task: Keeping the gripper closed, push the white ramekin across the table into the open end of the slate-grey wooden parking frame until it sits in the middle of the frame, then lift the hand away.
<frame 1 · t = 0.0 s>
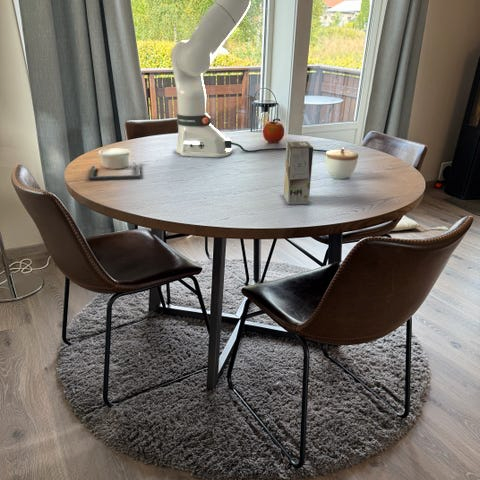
trinket box: (339, 177, 171), on the table
bay: (115, 173, 171), on the table
coffee box: (295, 200, 148), on the table
ramekin: (116, 166, 180), on the table
fruit: (272, 142, 218), on the table
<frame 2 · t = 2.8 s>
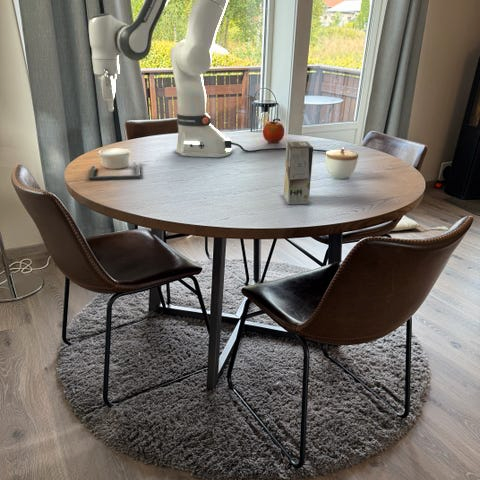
hand: (111, 110, 179), 17 cm above the table, tool pointing down, fingers closed
nothing on the table moved.
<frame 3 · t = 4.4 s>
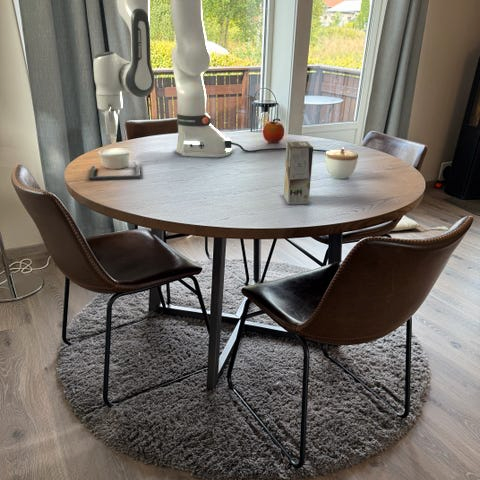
hand: (113, 143, 185), 6 cm above the table, tool pointing down, fingers closed
nothing on the table moved.
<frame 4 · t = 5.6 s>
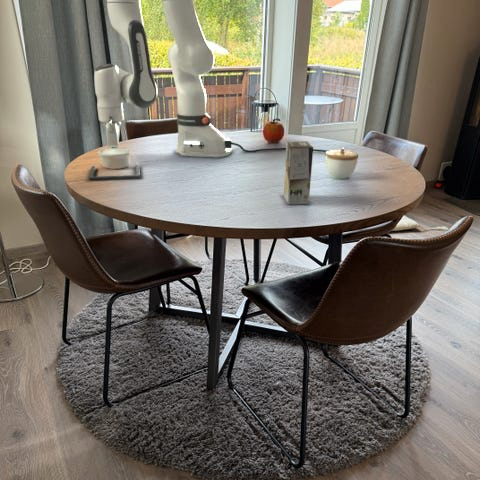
hand: (115, 154, 185), 2 cm above the table, tool pointing down, fingers closed
ramekin: (116, 166, 180), on the table, touching gripper
everything else where it was.
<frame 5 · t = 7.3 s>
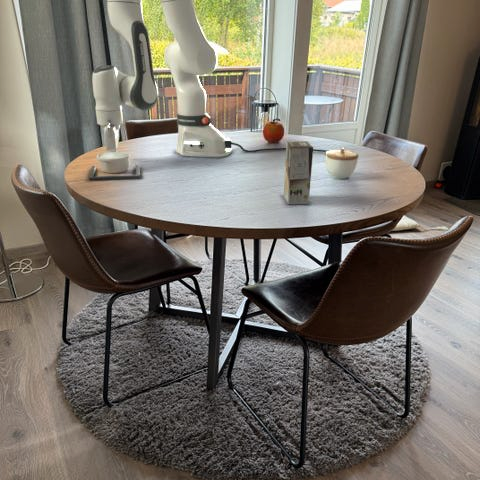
hand: (114, 158, 179), 2 cm above the table, tool pointing down, fingers closed
ramekin: (115, 170, 175), on the table, touching gripper
everything else where it was.
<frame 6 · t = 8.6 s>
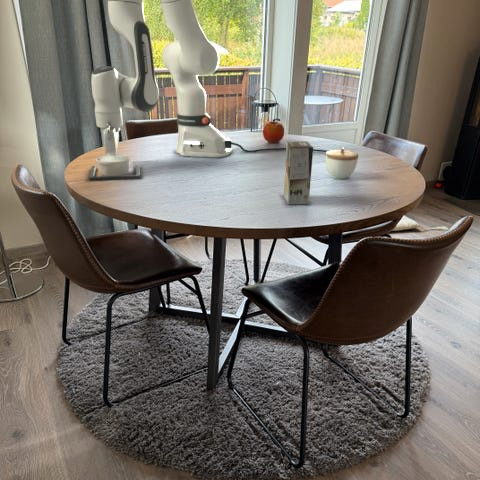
hand: (114, 161, 175), 2 cm above the table, tool pointing down, fingers closed
ramekin: (114, 174, 171), on the table, touching gripper
everything else where it was.
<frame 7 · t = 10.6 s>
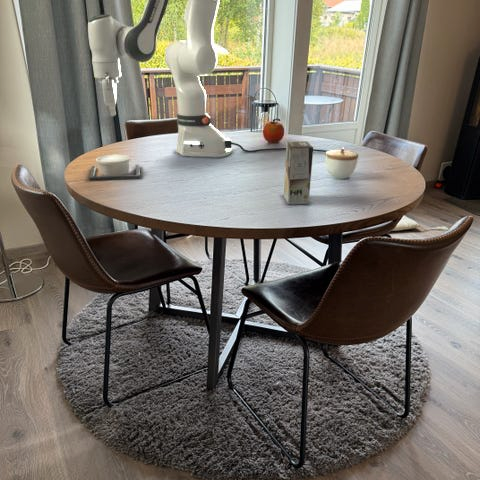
hand: (113, 115, 174), 17 cm above the table, tool pointing down, fingers closed
ramekin: (114, 174, 171), on the table
everything else where it was.
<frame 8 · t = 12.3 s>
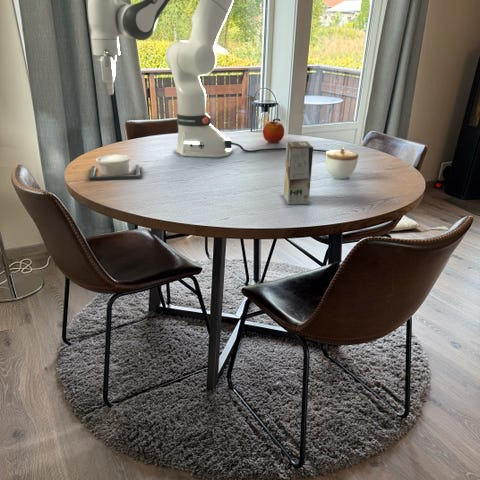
hand: (111, 94, 173), 23 cm above the table, tool pointing down, fingers closed
nothing on the table moved.
at the end: ramekin 0.6 cm from the bay (horizontally); ramekin tilted 0°; ramekin moved 10.6 cm from its start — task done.
